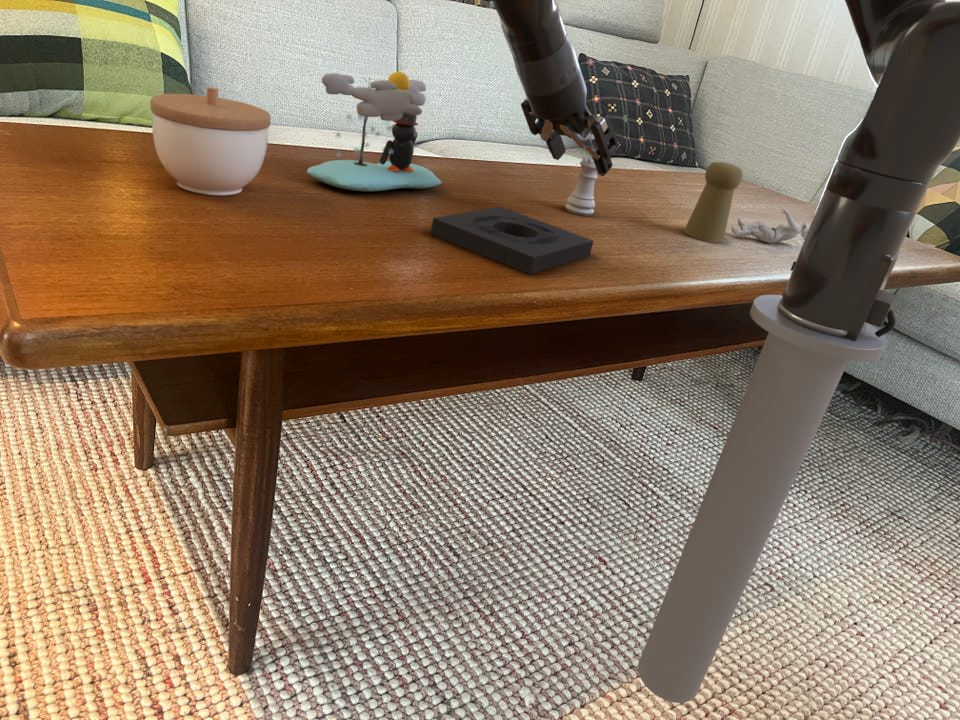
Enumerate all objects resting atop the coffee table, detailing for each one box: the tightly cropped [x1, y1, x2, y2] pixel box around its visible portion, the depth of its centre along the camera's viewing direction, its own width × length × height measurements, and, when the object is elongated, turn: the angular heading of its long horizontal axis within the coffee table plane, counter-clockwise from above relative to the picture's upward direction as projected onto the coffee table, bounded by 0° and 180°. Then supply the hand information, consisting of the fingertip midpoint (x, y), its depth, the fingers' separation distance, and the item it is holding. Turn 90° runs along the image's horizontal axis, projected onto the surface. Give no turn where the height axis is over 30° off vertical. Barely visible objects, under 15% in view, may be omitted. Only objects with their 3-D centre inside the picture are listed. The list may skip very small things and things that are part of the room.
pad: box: [430, 206, 594, 275], centre depth 86 cm, size 14×14×2 cm
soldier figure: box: [730, 207, 810, 244], centre depth 114 cm, size 8×5×12 cm
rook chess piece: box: [564, 155, 598, 217], centre depth 108 cm, size 4×4×8 cm
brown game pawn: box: [683, 161, 744, 244], centre depth 108 cm, size 6×6×11 cm
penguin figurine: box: [306, 71, 442, 193], centre depth 97 cm, size 20×11×15 cm, turn 133°
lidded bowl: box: [149, 86, 272, 196], centre depth 83 cm, size 13×13×11 cm
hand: (582, 163), depth 105 cm, fingers open, 8 cm apart
